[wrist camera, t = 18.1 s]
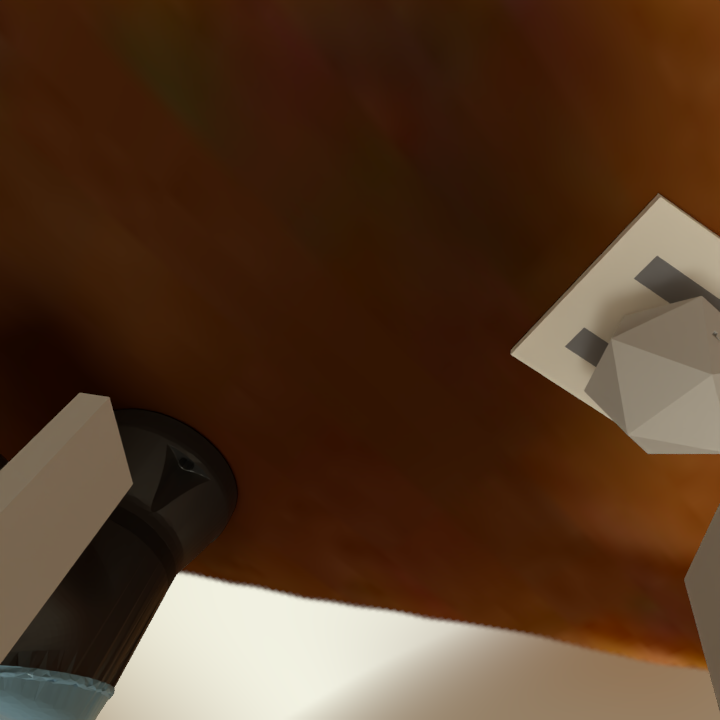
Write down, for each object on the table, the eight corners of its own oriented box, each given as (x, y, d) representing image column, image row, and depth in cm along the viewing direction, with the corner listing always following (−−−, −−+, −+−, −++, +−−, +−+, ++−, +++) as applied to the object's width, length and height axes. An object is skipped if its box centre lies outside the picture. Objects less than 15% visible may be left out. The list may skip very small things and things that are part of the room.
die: (746, 382, 39) (850, 373, 29) (642, 478, 39) (710, 502, 29) (645, 289, 40) (713, 250, 30) (546, 383, 41) (581, 375, 31)
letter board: (660, 446, 43) (662, 452, 42) (510, 349, 41) (510, 354, 41) (832, 317, 36) (836, 322, 35) (658, 193, 34) (660, 197, 33)
